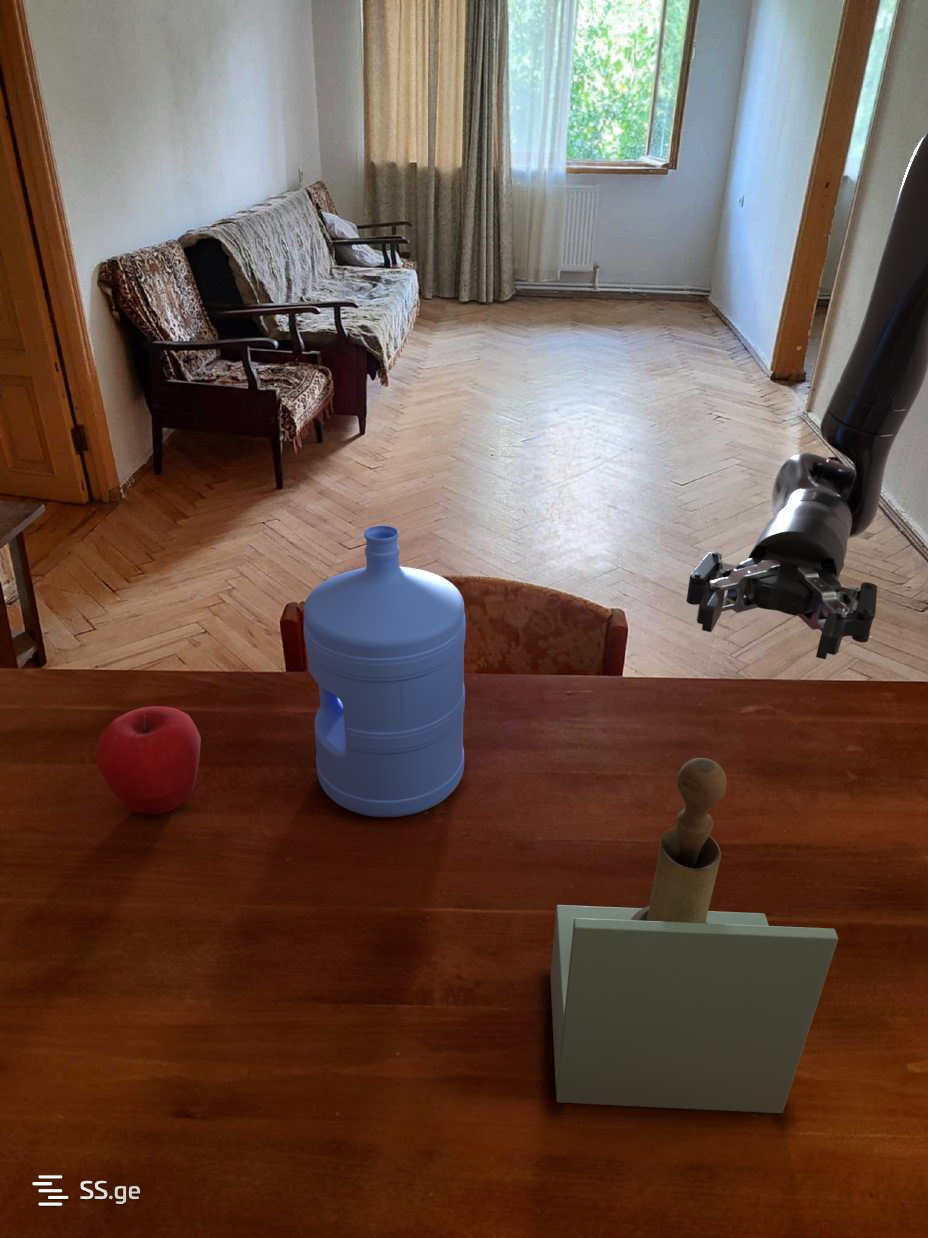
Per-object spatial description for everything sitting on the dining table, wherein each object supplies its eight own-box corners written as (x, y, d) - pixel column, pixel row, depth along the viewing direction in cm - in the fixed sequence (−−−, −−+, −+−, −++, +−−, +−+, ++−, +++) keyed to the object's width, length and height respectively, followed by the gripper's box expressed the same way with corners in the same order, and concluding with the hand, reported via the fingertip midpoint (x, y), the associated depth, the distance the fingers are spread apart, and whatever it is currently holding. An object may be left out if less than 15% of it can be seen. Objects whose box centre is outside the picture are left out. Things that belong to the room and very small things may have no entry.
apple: (192, 760, 96) (177, 676, 91) (223, 810, 89) (209, 723, 84) (98, 792, 91) (76, 706, 86) (123, 848, 84) (101, 759, 79)
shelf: (747, 984, 72) (789, 816, 63) (782, 1114, 62) (838, 939, 54) (550, 975, 72) (564, 808, 63) (556, 1103, 63) (574, 927, 54)
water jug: (475, 736, 100) (479, 506, 86) (448, 831, 87) (449, 577, 73) (342, 721, 102) (326, 494, 89) (297, 811, 89) (269, 561, 75)
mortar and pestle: (708, 1012, 60) (754, 811, 51) (614, 983, 62) (643, 785, 53) (719, 938, 66) (762, 745, 57) (633, 914, 68) (661, 723, 59)
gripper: (725, 501, 80) (677, 570, 68) (895, 530, 75) (877, 612, 62) (713, 575, 84) (666, 653, 71) (874, 608, 78) (853, 700, 66)
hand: (764, 634), depth 67 cm, fingers open, 8 cm apart
